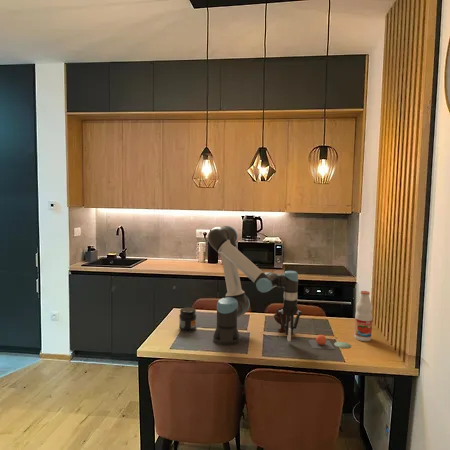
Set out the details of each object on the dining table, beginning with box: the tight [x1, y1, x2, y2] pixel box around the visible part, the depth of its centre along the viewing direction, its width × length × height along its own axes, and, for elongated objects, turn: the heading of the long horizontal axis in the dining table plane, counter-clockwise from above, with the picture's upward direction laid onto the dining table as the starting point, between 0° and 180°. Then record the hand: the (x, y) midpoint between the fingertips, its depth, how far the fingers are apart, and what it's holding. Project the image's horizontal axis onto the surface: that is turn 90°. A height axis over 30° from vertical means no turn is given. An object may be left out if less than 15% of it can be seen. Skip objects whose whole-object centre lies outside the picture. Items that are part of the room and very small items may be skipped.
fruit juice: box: [353, 290, 374, 342], centre depth 221 cm, size 9×9×28 cm
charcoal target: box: [307, 339, 336, 350], centre depth 211 cm, size 12×12×1 cm
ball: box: [315, 334, 327, 345], centre depth 211 cm, size 6×6×6 cm
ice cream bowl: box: [273, 306, 291, 333], centre depth 231 cm, size 11×11×15 cm
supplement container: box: [178, 307, 197, 332], centre depth 231 cm, size 10×10×12 cm
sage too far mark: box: [333, 341, 352, 349], centre depth 211 cm, size 9×9×1 cm
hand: (288, 340), depth 211 cm, fingers closed
